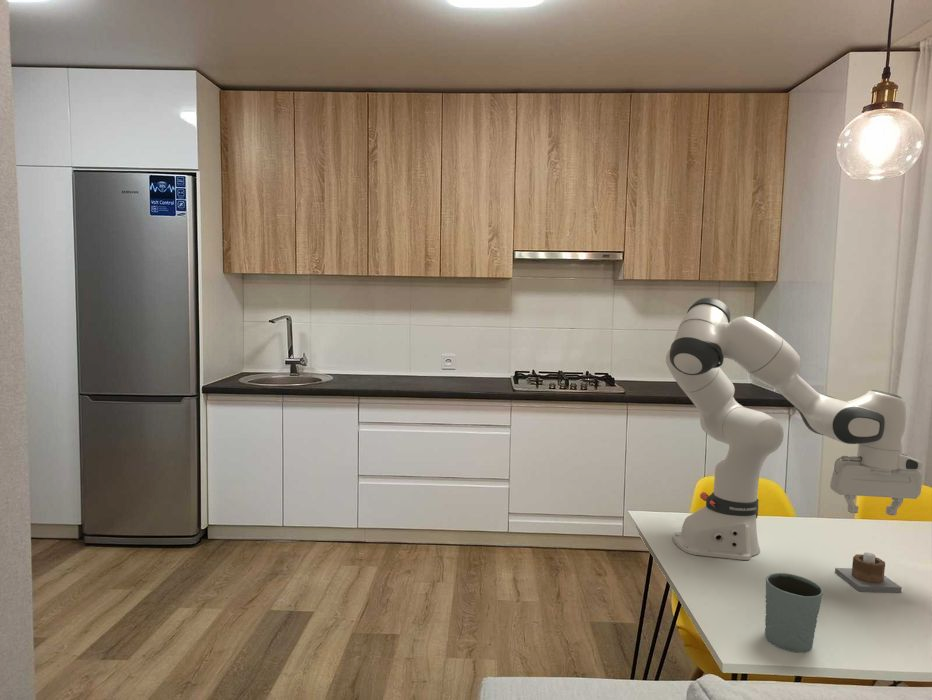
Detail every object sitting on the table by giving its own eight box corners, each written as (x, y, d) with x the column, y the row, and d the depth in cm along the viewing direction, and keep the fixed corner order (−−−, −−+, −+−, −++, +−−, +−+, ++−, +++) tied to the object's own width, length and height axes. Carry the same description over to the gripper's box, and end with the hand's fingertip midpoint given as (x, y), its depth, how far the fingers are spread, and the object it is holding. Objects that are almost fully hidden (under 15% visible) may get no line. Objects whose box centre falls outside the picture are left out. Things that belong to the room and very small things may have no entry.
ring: (862, 582, 152) (864, 564, 152) (847, 571, 158) (848, 554, 158) (888, 583, 152) (890, 565, 152) (872, 572, 158) (873, 554, 158)
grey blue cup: (753, 626, 133) (757, 571, 132) (802, 628, 132) (807, 573, 131) (775, 654, 123) (780, 594, 122) (828, 656, 122) (833, 597, 121)
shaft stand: (859, 591, 150) (861, 562, 150) (834, 572, 160) (837, 545, 160) (901, 592, 150) (904, 563, 150) (874, 573, 160) (877, 546, 160)
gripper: (843, 458, 149) (837, 515, 151) (929, 463, 150) (921, 520, 151) (828, 452, 156) (822, 506, 157) (910, 456, 156) (903, 511, 157)
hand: (871, 513), depth 154 cm, fingers open, 8 cm apart
